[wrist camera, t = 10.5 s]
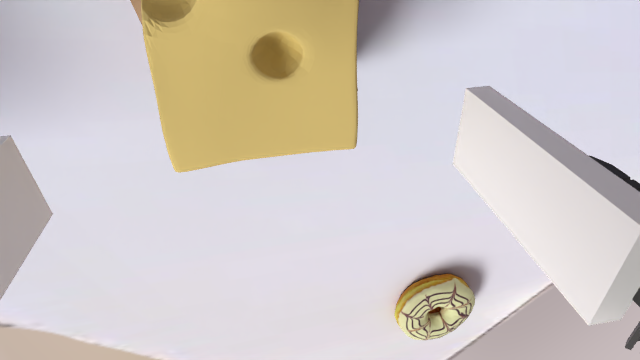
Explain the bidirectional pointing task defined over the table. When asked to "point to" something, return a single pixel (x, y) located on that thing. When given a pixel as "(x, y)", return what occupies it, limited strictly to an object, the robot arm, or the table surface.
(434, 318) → the decorated donut
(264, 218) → the table surface
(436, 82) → the table surface
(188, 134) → the cheese
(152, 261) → the table surface
